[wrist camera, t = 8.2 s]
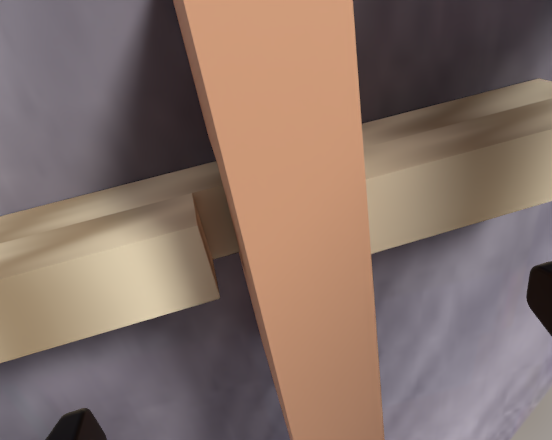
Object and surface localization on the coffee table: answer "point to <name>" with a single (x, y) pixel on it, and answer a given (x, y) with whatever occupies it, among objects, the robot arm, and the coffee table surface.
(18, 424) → the coffee table surface
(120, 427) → the coffee table surface
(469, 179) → the birch board
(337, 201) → the notched tan block
